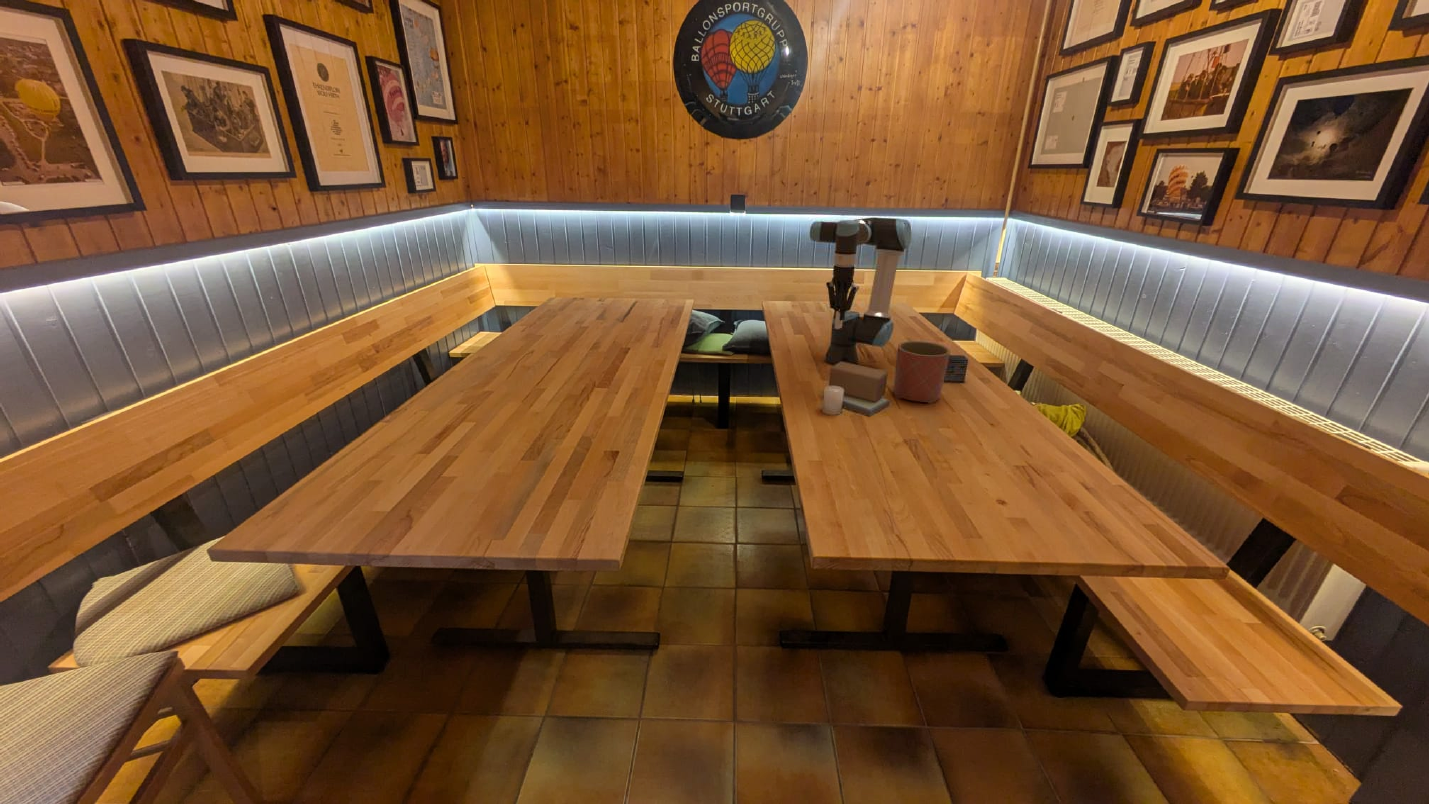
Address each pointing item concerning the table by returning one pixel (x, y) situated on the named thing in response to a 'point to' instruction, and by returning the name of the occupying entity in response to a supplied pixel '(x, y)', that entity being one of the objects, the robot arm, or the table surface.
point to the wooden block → (859, 380)
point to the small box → (956, 369)
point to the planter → (920, 370)
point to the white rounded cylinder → (833, 399)
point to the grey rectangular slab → (864, 404)
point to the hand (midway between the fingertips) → (838, 327)
